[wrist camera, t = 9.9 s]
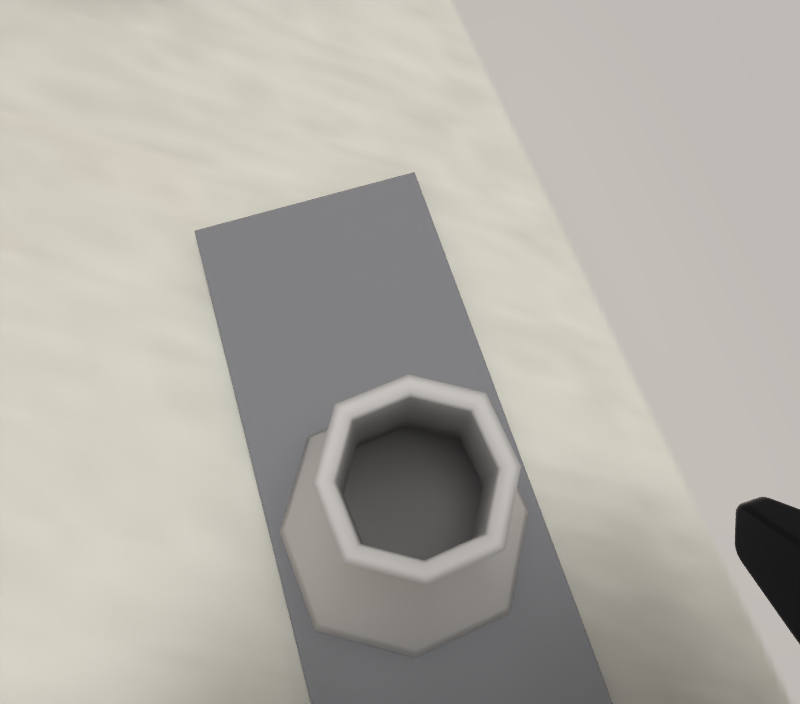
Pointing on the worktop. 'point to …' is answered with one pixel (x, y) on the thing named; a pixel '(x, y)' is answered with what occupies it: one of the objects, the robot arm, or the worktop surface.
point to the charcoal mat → (357, 373)
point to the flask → (407, 517)
